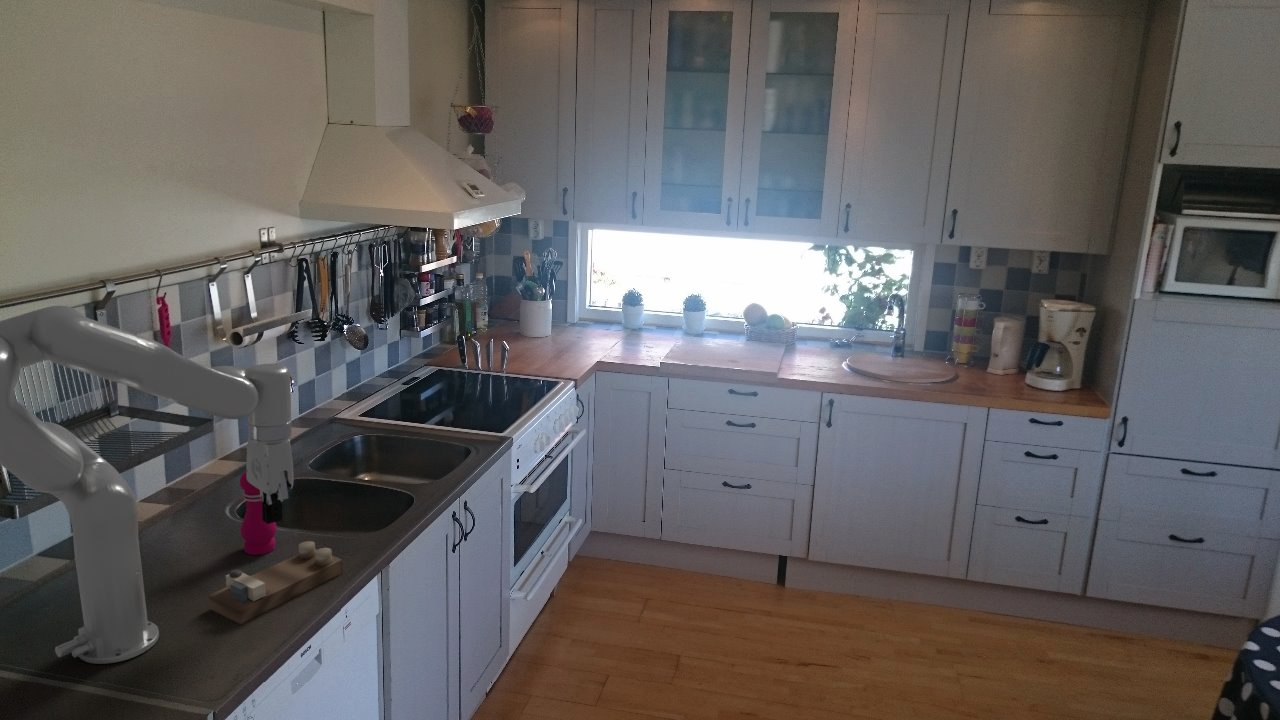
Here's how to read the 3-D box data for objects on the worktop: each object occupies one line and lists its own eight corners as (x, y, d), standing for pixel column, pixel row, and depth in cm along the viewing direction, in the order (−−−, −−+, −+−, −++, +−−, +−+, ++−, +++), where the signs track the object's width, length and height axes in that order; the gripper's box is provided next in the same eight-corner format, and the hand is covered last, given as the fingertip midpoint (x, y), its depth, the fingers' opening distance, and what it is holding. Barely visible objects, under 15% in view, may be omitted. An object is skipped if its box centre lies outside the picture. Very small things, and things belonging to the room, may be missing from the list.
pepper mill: (284, 549, 195) (278, 463, 189) (251, 559, 189) (244, 472, 184) (268, 538, 199) (262, 454, 194) (236, 548, 194) (229, 462, 189)
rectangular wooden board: (240, 624, 166) (238, 595, 164) (210, 609, 170) (207, 580, 169) (343, 572, 186) (341, 546, 184) (313, 560, 190) (311, 534, 189)
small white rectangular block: (226, 587, 172) (225, 572, 171) (238, 582, 174) (237, 567, 173) (253, 601, 168) (252, 585, 167) (265, 595, 170) (264, 580, 169)
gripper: (231, 423, 169) (235, 513, 174) (269, 444, 160) (272, 539, 164) (270, 416, 175) (272, 504, 179) (308, 436, 165) (310, 528, 170)
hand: (272, 520), depth 172 cm, fingers closed
